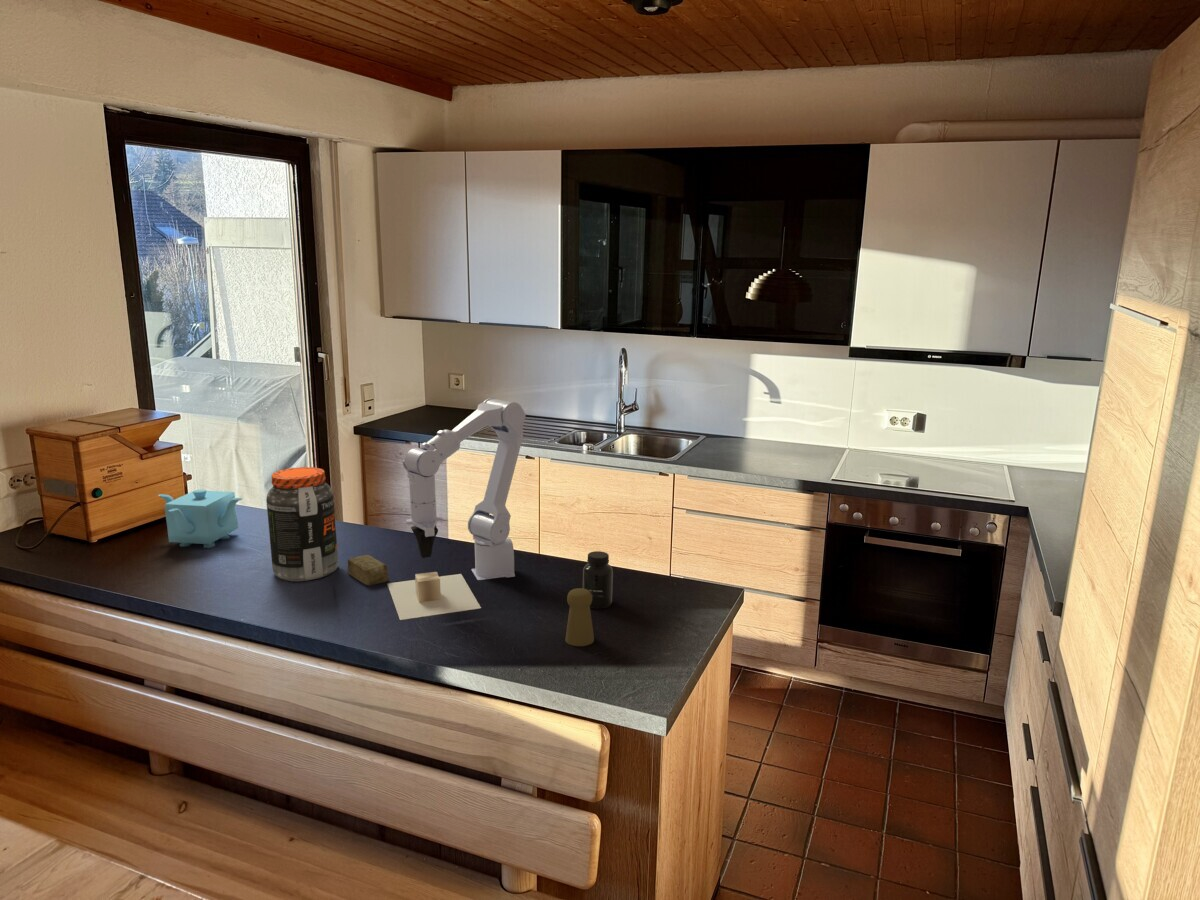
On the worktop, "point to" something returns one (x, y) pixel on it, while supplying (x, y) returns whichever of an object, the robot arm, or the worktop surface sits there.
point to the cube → (428, 586)
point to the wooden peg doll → (579, 618)
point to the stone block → (367, 570)
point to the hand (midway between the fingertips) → (425, 556)
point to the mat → (452, 600)
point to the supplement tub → (302, 524)
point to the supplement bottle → (598, 579)
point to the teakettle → (201, 517)
